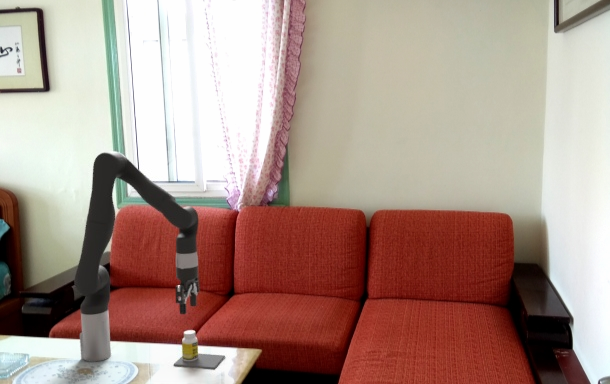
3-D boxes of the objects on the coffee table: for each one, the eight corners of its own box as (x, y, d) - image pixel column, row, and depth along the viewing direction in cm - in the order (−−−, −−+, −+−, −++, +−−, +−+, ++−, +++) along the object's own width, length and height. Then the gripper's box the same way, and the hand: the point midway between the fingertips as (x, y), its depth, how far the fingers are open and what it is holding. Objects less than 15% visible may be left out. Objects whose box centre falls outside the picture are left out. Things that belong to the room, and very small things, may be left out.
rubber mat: (173, 365, 186) (173, 364, 186) (186, 354, 196) (186, 352, 196) (214, 369, 183) (214, 367, 183) (225, 357, 193) (224, 355, 193)
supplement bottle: (194, 362, 187) (193, 335, 186) (180, 361, 188) (178, 334, 187) (200, 356, 193) (199, 329, 192) (186, 355, 194) (185, 328, 193)
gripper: (185, 259, 194) (187, 303, 196) (167, 269, 181) (169, 316, 182) (205, 260, 193) (206, 304, 195) (188, 270, 179) (189, 317, 181)
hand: (188, 309), depth 189 cm, fingers open, 8 cm apart
